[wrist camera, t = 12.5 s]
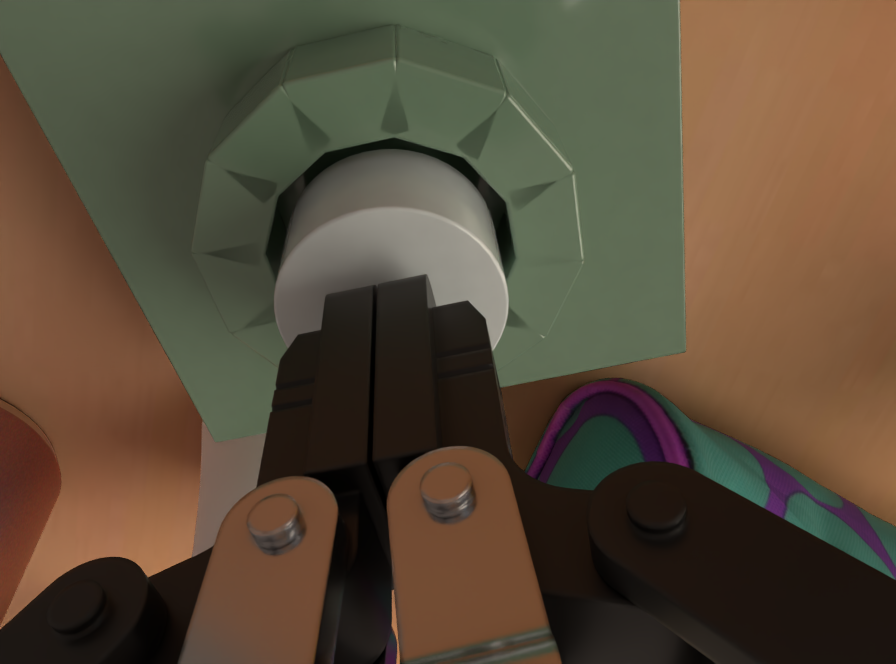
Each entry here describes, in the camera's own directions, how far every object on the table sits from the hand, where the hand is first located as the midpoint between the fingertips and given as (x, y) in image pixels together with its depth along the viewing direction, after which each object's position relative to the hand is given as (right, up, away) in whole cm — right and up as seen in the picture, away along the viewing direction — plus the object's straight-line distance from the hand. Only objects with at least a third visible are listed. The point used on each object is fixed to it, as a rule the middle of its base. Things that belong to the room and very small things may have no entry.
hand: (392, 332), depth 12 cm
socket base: (0, +5, +6) cm, 8 cm away
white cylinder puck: (0, +2, +2) cm, 2 cm away
